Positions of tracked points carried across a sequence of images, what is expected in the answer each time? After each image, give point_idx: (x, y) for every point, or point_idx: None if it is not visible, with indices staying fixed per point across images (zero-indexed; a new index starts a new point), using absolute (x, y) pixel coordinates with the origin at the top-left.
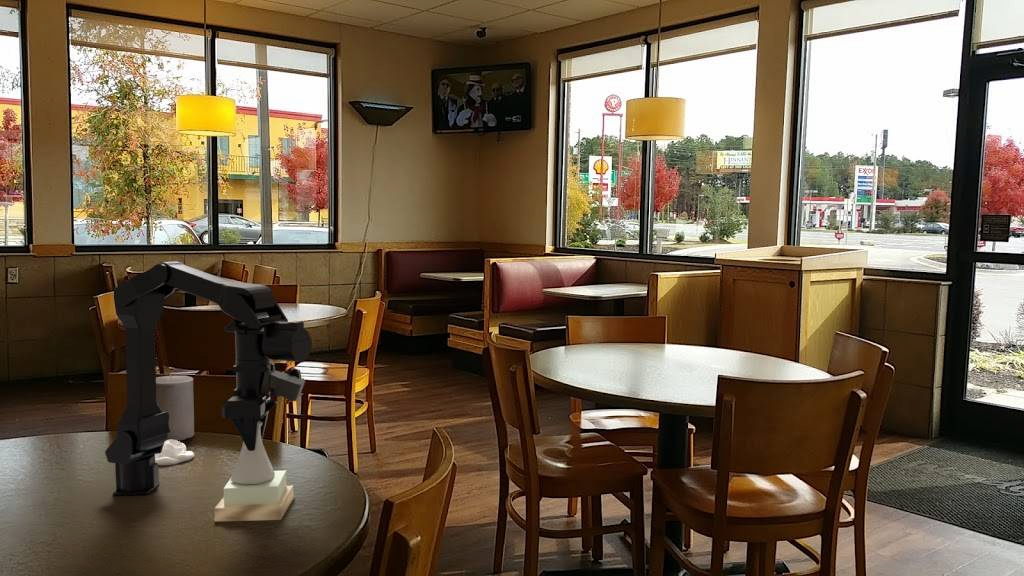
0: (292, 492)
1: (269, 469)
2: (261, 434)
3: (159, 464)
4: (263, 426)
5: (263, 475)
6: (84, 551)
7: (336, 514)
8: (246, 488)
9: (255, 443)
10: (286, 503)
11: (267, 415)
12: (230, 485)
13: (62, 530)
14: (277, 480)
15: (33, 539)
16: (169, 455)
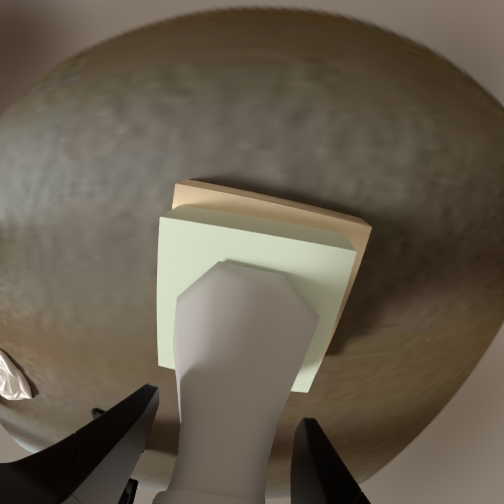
0: (197, 184)
1: (263, 297)
2: (143, 415)
3: (30, 389)
4: (118, 442)
5: (299, 312)
6: (354, 461)
7: (363, 74)
8: (326, 343)
9: (328, 444)
10: (289, 203)
11: (46, 460)
12: None
13: (268, 481)
14: (282, 251)
15: (287, 490)
16: (15, 383)
